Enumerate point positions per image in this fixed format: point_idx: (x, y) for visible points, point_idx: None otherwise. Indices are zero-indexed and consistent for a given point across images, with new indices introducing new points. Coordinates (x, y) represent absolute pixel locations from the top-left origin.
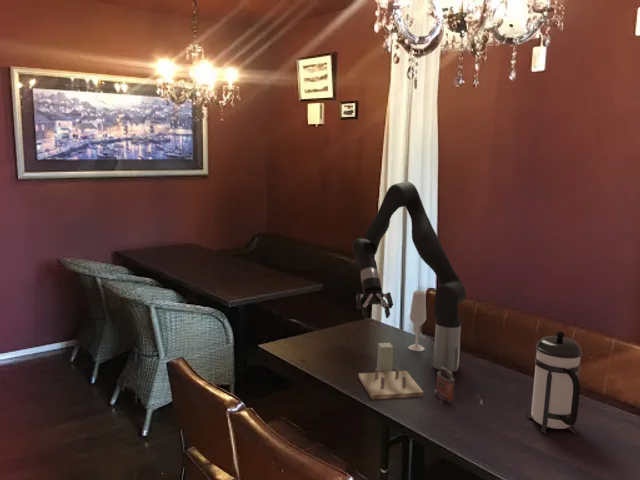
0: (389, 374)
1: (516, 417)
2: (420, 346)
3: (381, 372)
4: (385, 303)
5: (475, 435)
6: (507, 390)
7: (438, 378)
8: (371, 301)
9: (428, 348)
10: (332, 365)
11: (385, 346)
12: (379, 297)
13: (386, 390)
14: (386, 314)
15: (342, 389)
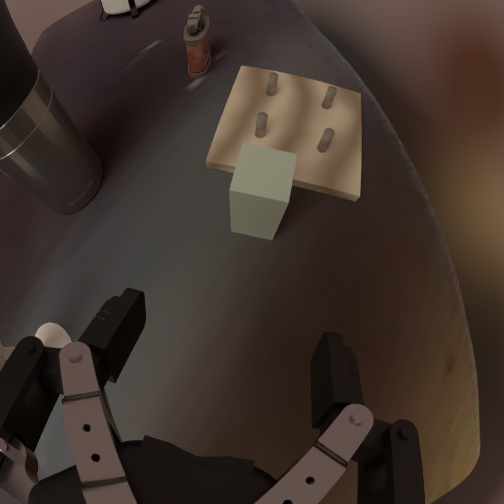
0: None
1: (149, 17)
2: (41, 337)
3: None
4: (79, 385)
5: (241, 3)
6: (76, 71)
7: (203, 42)
8: (250, 473)
9: (27, 329)
10: (398, 311)
11: (273, 157)
12: (111, 475)
13: (321, 94)
14: (135, 319)
15: (407, 160)
